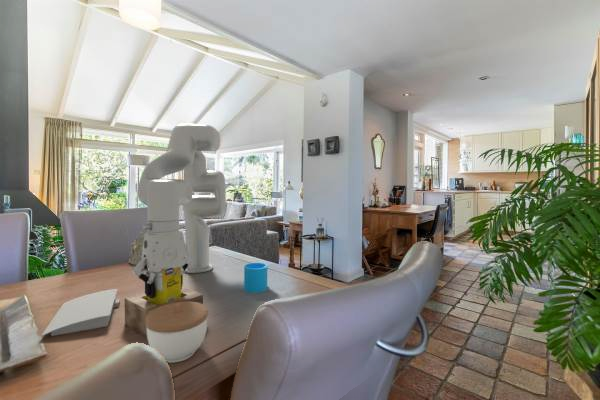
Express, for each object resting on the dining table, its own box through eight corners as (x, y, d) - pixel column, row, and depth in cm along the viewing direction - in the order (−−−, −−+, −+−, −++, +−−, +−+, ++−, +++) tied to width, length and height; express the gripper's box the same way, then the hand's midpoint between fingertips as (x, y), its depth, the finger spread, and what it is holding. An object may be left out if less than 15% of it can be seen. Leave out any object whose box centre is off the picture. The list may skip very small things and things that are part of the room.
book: (124, 298, 96) (124, 286, 95) (117, 330, 75) (117, 315, 75) (65, 306, 89) (64, 294, 88) (40, 344, 68) (39, 328, 68)
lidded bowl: (174, 334, 73) (173, 290, 72) (219, 343, 69) (219, 297, 68) (131, 364, 61) (130, 312, 60) (183, 376, 57) (182, 321, 56)
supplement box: (181, 303, 81) (181, 263, 80) (164, 312, 75) (164, 270, 74) (165, 299, 83) (164, 261, 82) (147, 308, 77) (146, 267, 76)
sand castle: (169, 261, 137) (167, 229, 137) (129, 267, 129) (126, 233, 128) (165, 256, 150) (163, 227, 150) (128, 261, 142) (125, 230, 141)
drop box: (125, 323, 77) (124, 297, 77) (174, 306, 89) (174, 283, 88) (152, 341, 69) (152, 312, 69) (203, 319, 81) (203, 294, 80)
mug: (270, 290, 103) (270, 267, 102) (246, 294, 100) (247, 270, 99) (261, 280, 114) (261, 259, 113) (239, 282, 111) (240, 261, 110)
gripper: (136, 232, 68) (138, 307, 69) (200, 224, 82) (201, 286, 84) (121, 229, 73) (123, 299, 74) (185, 221, 87) (185, 281, 88)
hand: (164, 292), depth 79 cm, fingers closed on supplement box, 6 cm apart
